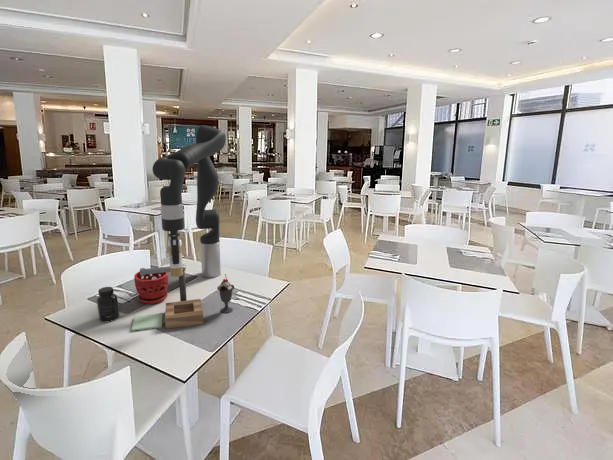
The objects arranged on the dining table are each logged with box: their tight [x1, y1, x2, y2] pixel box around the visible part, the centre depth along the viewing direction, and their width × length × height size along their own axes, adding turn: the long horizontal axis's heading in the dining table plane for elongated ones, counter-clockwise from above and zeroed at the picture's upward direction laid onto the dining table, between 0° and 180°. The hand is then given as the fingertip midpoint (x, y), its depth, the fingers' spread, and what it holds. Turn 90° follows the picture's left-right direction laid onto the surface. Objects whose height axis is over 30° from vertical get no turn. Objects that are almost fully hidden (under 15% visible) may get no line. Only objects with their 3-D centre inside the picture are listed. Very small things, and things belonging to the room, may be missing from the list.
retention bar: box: [139, 264, 186, 277], centre depth 141 cm, size 17×3×2 cm, turn 110°
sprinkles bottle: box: [167, 239, 184, 278], centre depth 131 cm, size 5×5×13 cm
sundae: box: [217, 273, 235, 314], centre depth 143 cm, size 7×7×15 cm
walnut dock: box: [164, 270, 204, 330], centre depth 139 cm, size 19×13×16 cm
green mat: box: [131, 312, 164, 332], centre depth 134 cm, size 10×10×1 cm
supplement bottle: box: [96, 286, 120, 322], centre depth 135 cm, size 7×7×12 cm
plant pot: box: [133, 270, 169, 305], centre depth 151 cm, size 13×13×12 cm
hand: (175, 261), depth 131 cm, fingers closed on sprinkles bottle, 4 cm apart
